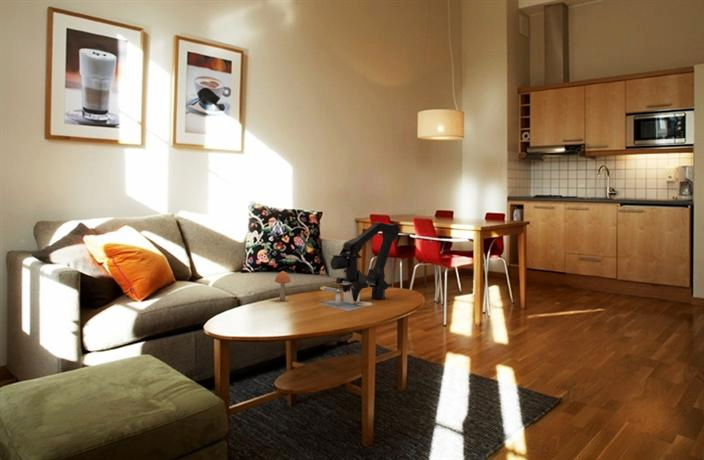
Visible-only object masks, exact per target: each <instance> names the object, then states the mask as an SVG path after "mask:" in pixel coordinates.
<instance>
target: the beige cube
mask: <svg viewBox="0 0 704 460" xmlns="http://www.w3.org/2000/svg"><path fill="white" fill-rule="evenodd" d="M360 294H361V293H359V295H358V298H357V301H356V302H355V301H354V299H353V295H352V291H351V290H350V291H347V292H343V298H344V302H346V303H351V304H353V303H357V302H360V301H361V300H360Z"/></svg>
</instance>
